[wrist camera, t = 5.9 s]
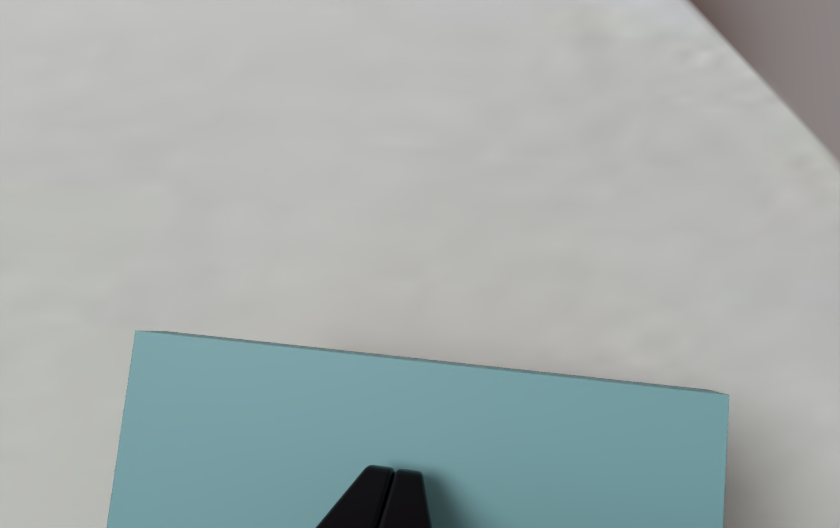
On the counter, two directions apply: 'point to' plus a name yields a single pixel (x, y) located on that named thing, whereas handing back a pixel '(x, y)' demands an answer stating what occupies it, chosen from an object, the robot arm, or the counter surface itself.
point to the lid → (405, 440)
